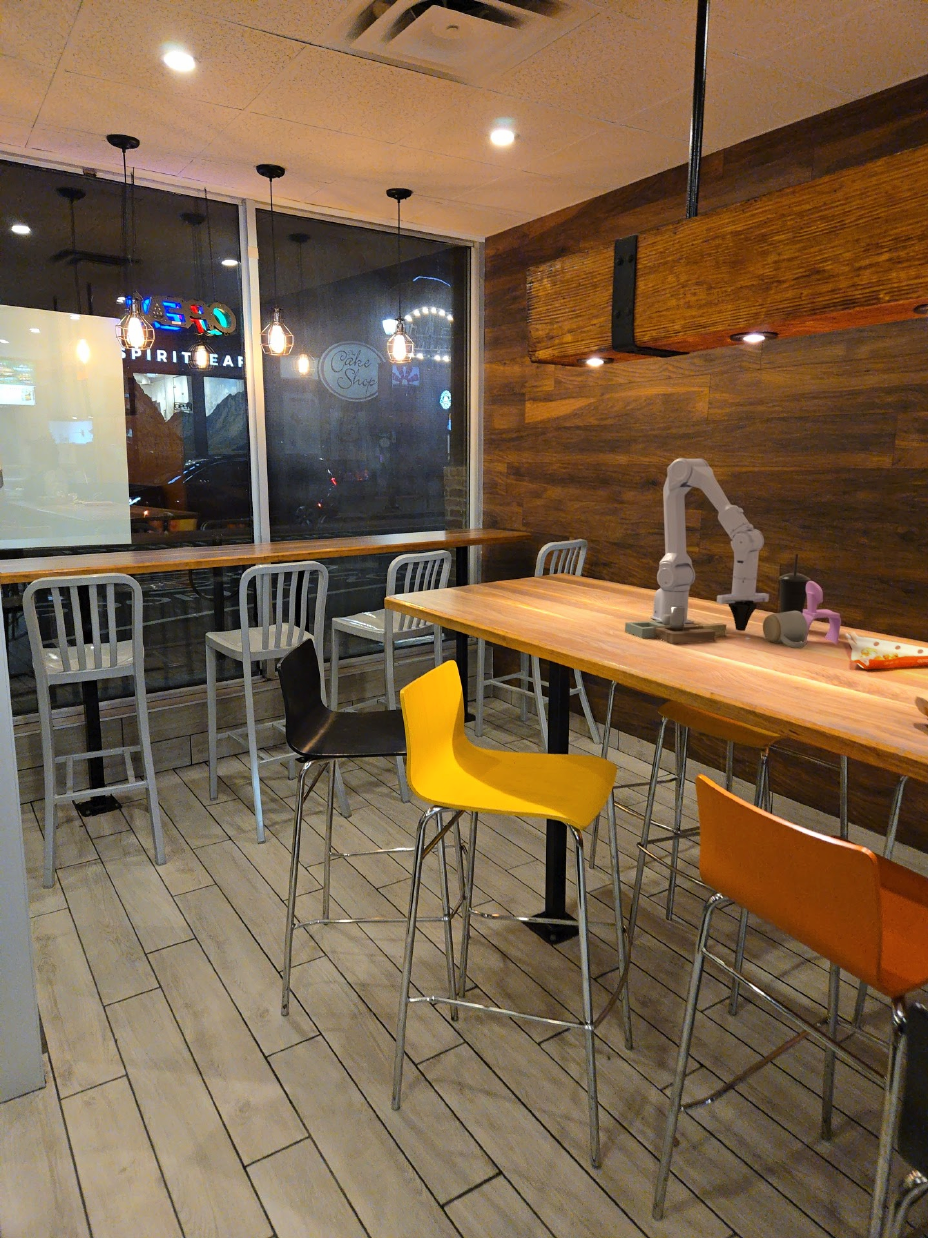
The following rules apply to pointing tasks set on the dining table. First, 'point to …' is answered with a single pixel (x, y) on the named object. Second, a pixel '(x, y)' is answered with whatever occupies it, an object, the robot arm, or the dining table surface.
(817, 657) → the dining table surface
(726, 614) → the dining table surface
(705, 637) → the socket block
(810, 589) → the toy chair
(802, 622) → the ceramic mug
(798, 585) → the drinking cup
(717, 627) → the brown rectangular block
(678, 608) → the grey metal cylinder
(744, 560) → the robot arm
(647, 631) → the rack
